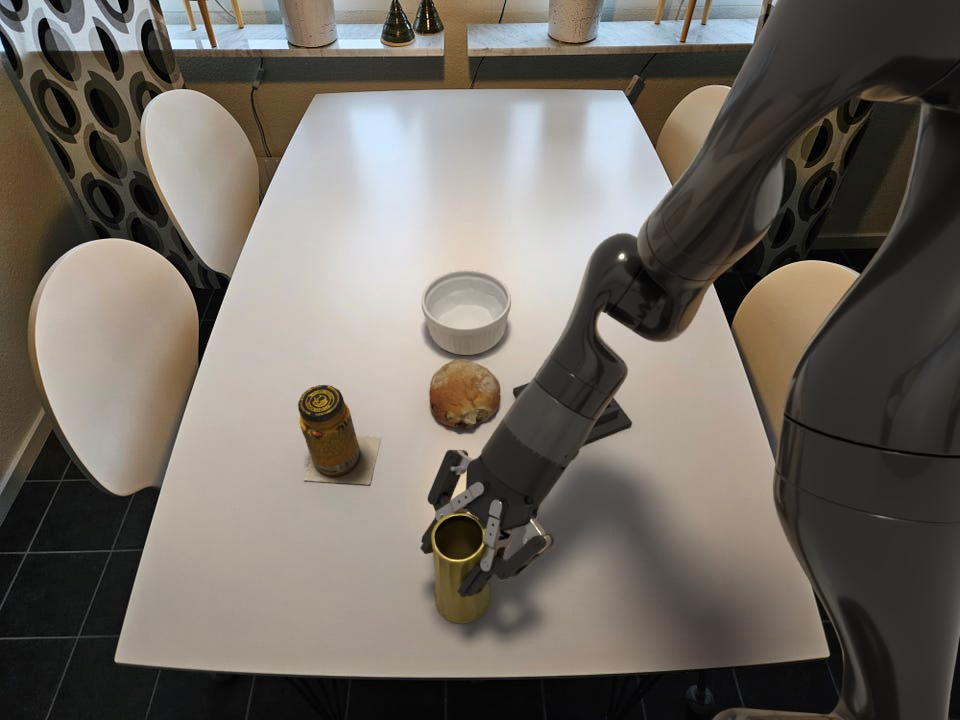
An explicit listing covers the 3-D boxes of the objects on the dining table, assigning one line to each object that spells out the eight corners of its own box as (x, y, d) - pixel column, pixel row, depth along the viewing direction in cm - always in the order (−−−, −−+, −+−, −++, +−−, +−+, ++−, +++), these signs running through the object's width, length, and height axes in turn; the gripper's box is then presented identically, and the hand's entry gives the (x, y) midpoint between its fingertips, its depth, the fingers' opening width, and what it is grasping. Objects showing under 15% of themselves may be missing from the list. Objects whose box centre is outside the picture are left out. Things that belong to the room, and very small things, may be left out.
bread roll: (504, 409, 94) (512, 359, 91) (485, 442, 85) (493, 388, 82) (440, 393, 96) (446, 344, 93) (415, 424, 87) (420, 370, 84)
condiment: (318, 434, 87) (299, 376, 78) (381, 438, 86) (368, 380, 77) (304, 481, 82) (282, 424, 73) (370, 486, 81) (356, 429, 72)
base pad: (631, 426, 87) (635, 413, 85) (553, 457, 84) (555, 444, 82) (586, 366, 95) (588, 352, 93) (512, 392, 91) (513, 378, 89)
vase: (499, 586, 73) (502, 525, 62) (471, 635, 69) (469, 578, 58) (453, 560, 75) (448, 497, 64) (424, 606, 71) (413, 547, 61)
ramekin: (414, 312, 103) (410, 279, 97) (492, 294, 105) (493, 260, 100) (438, 371, 94) (435, 338, 89) (522, 349, 97) (524, 316, 92)
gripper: (467, 388, 61) (378, 525, 65) (578, 488, 54) (471, 636, 58) (507, 395, 67) (424, 519, 71) (611, 485, 60) (513, 619, 64)
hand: (446, 571), depth 64 cm, fingers closed on vase, 5 cm apart
